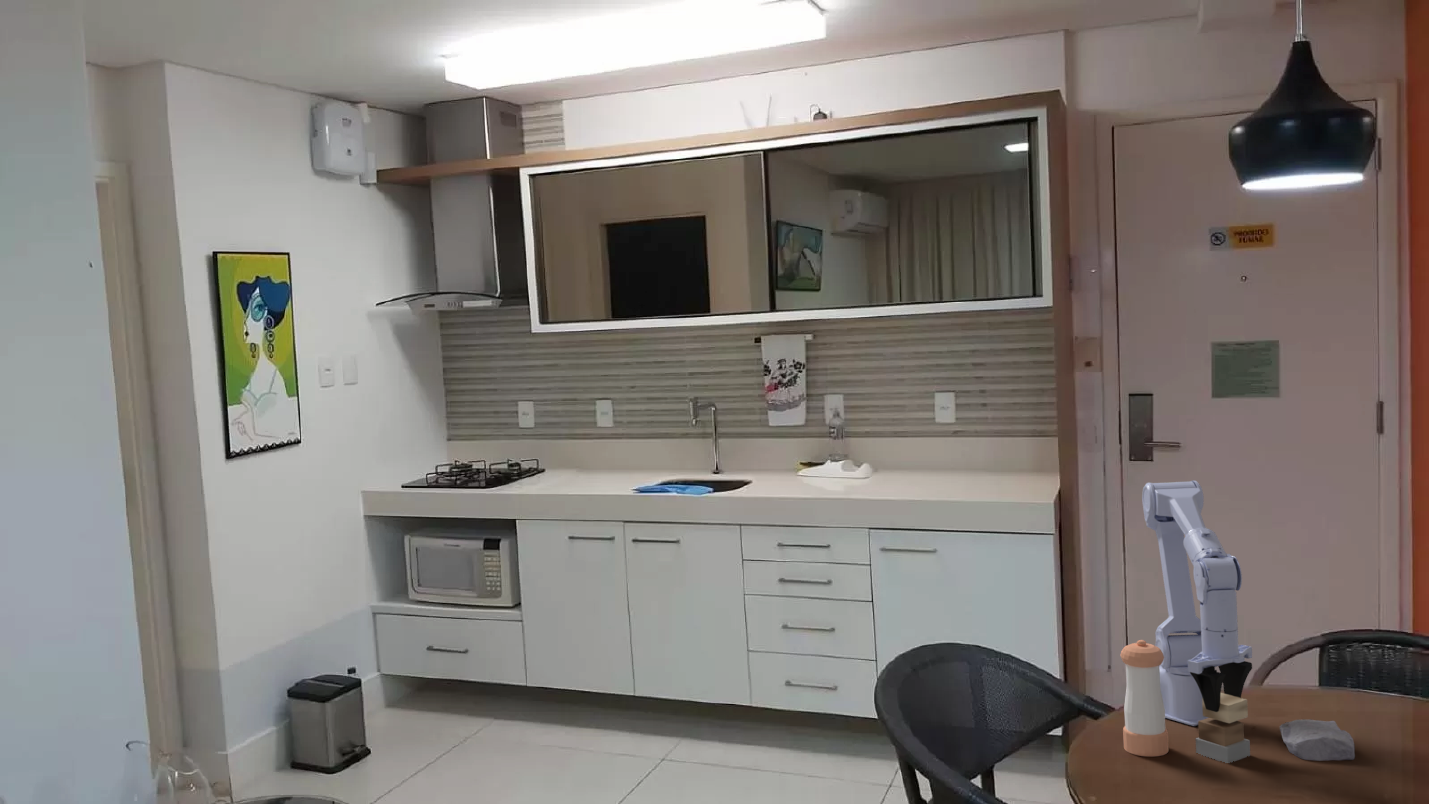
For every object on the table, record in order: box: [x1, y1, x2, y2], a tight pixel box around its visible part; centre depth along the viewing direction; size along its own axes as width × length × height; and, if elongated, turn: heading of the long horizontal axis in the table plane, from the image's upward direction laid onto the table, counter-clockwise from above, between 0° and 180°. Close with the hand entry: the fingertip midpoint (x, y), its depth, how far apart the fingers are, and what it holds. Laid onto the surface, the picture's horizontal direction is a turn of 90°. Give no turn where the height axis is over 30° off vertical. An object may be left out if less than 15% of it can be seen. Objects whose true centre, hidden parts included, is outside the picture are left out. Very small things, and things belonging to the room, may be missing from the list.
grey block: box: [1195, 736, 1251, 764], centre depth 189 cm, size 6×6×3 cm
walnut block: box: [1197, 718, 1245, 747], centre depth 189 cm, size 5×5×3 cm
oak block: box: [1202, 692, 1249, 723], centre depth 189 cm, size 5×5×3 cm
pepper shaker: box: [1120, 639, 1170, 758], centre depth 193 cm, size 7×7×19 cm
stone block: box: [1279, 718, 1356, 762], centre depth 190 cm, size 12×5×10 cm
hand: (1222, 706), depth 189 cm, fingers closed on oak block, 5 cm apart
